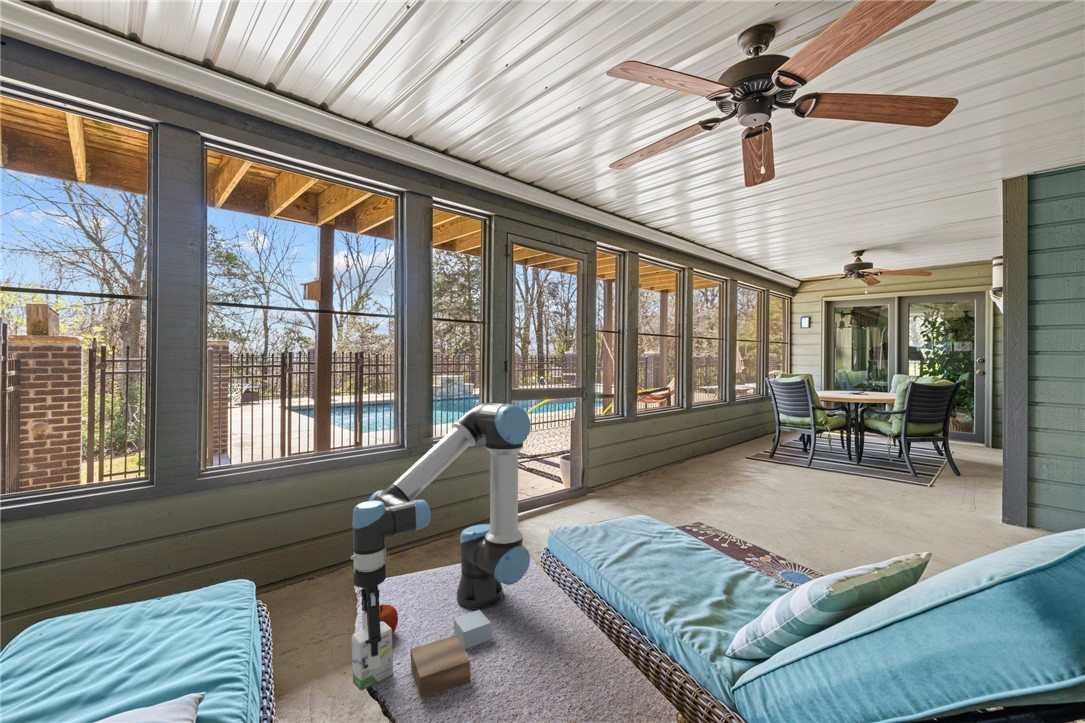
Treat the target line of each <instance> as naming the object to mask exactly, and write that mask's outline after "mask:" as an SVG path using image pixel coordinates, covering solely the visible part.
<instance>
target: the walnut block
mask: <svg viewBox="0 0 1085 723" xmlns="http://www.w3.org/2000/svg"><path fill="white" fill-rule="evenodd" d="M409 651H410V670H411V672H412V676H413V679H414V682H415V686H416V689H417V691H418V692H417V693H418V694H419V698H420V699H421V700H422V699H425V698H427V697H431V696H434V695H436V694H439V693H442V692H444V691H447V690H450V689H453V688H455V687H458V686H461V685H463V684H467V683H470V682H471V660H470V659H469V657H468V655H467V653H466V651H465V650H464V648H463V647H462V645H461V643H460V641H459V640H458V638H457V636H456V635H452V636H449V637H446V638H443V639H439V640H436V641H432V642H430V643H426V644H422V645H419V646H416V647H412V648H410V650H409Z"/></svg>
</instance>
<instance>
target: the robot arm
mask: <svg viewBox="0 0 1085 723" xmlns="http://www.w3.org/2000/svg"><path fill="white" fill-rule="evenodd" d="M531 426H532V425H531V419H530V417H529V415H528V413H527V411H525V409H524V408H523V407H521V406H518V405H515V404H512V403H501V402H499V403H498V402H497V403H496V402H490V401H489V402H483V403H480V404H478V405H476V406H474V407H473V408H471V409H470V410H469V411H468V410H467V412H466V413H465V414H463V415H461V417H460V418H459V419H457V420H456V421H455V422H454V423H453V425H452V429H451V430H450V431H449V432H448V433H447V434H446V435H445V436H443V437H442V438H440V440H439V441H438V442H437V443H436V444H434V445H433V446H432V447H431V448H430V449H429V450H428V451H426V453H424V454H423V456H422V457H420V459H418V460H417V461H416V462H415V463H414V464H412V466H410V467H409V468H408V469H407V470H406V471H405V472H403V474H402V475H400V477H398V478H397V480H395V481H394V482H393V483H391V485H390V486H389V487H387V488H386V489H381V490H377V491H375V492H374V493H373V494H372V495H371V496H370V497H369V499H368V501H363V502H359V503H358V504H357V505H355V507H354V508H353V510H352V511H353V512H352V523H351V526H352V543H353V545H352V546H353V549H352V550H353V555H351V556H350V559H351V560H352V561H353V584H354V586H355V587H357V588H361V589H360V594H361V602H360V605H361V611H362V612H361V614H362V616H361V617H362V618H361V619H362V622H361V624H362V630H364V629H366V628H368V640H366V641H365V644H368V670H370V669H374V668H377V667H380V666H381V664H380V642H381V640H382V639H381V631H380V615H379V605H380V589H379V585H380V584H383V583H384V582H385V580H386V578H387V571H386V570H387V568H386V566H387V565H386V562H387V553H386V552H387V549H386V548H387V547H386V546H387V545H386V539H389V538H392V537H395V536H399V535H403V534H406V533H410V532H414V531H415V532H417V531H418V530H421V529H423V528H426V527H427V526H429V524H430V522H431V508H430V505H429V503H428V502H427V501H426V500H425V499H422V498H421V499H415V498H417V496H418V495H420V494H421V493H422V492H423V490H425V489H426V488H427V487H428V486H429V485H430V484H431V483H432V482H433V481H434V480H436V478H437V477H438V476H439V475H440V474H441V473H443V471H444V470H445V469H447V468H448V467H449V466H450V465H451V464H452V463H453V462H455V460H456V459H457V458H458V457H459V456H460V455H461V454H462V453H463V452H464V451H466V450H467V449H468V448H469V447H475V445H476V444H477V443H479V441H482V440H484V439H485V450H487V451H488V452H489V454H490V466H489V467H490V475H489V476H490V485H489V486H490V487H489V488H490V490H489V491H490V492H489V495H490V496H489V497H490V498H489V503H490V504H489V506H490V509H489V510H490V511H489V512H490V513H489V523H487V524H485V523H482V524H477V525H471V526H469V527H467V528H464V529H463V530H462V531H461V532H460V538H459V541H460V542H459V545H460V563H461V564H460V565H461V566H460V568H461V576H460V580H459V583H458V586H457V590H456V601H457V604H458V605H460V606H462V607H463V608H466V609H472V610H480V609H481V610H482V609H485V608H490V607H492V606H494V605H496V604H498V603H500V601H501V600H502V599H503V596H504V592H503V591H504V589H503V585H506V586H511V585H514V584H516V583H518V582H519V581H520V580H521V579H523V577H524V576H525V574H527V571H528V569H529V567H530V564H531V555H530V552H529V550H528V549H527V548H526V547H525V546H523V545H524V544H523V543H524V541H523V540H524V539H523V537H524V536H523V533H522V532H521V531H520V530H519V528H518V527H519V513H518V512H519V452H520V451H521V450H522V449H523V448H524V442H525V441H526V440H527V439H528V436H529V435H530V433H531V429H532V428H531ZM502 584H503V585H502Z"/></svg>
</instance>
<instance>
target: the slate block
mask: <svg viewBox="0 0 1085 723" xmlns="http://www.w3.org/2000/svg"><path fill="white" fill-rule="evenodd" d="M455 635H456V636H457V638H458V640H459V641H460V643H461V645H462V647H463V649H464V651H465V650H467V649H471V648H473V647H475V646H478V644H479V645H481V644H483V642H484V643H487V642H489V641H491V640H492V622H491V621H490V620H489V619H488V617H487V616H485V614H484V613H483V612H482V610H480V609H476V610H474V611H471V612H469V613H465V614H462V615H459V616H456V617H453V636H455ZM488 640H489V641H488ZM486 641H487V642H486Z"/></svg>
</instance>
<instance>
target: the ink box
mask: <svg viewBox="0 0 1085 723" xmlns="http://www.w3.org/2000/svg"><path fill="white" fill-rule="evenodd" d="M380 631H381V639H382V640H381V642H380V664H381V666H380V667H377V668H374V669H370V670H368V644H365V641H366V640H368V628H366V629H364V630H363V629H362V630H359V631H357V632H355V633H353V634H352V635H351V657H352V658H351V660H352V662H351V663H352V664H351V665H352V683H353V685H355V687H357V689H358V690H359V691H360V692H362V691H364V690H366V689H368V688H370V687H371V686H373V685H375V684H377V683H379V682H381V681H382V680H384V679H386V678H388V677H390V676H392V675H393V674H394V658H393V652H394V651H393V634H392V628H390V627H389V626H388V625H387V624H386V623H385V622H380ZM366 685H367V687H366Z"/></svg>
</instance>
